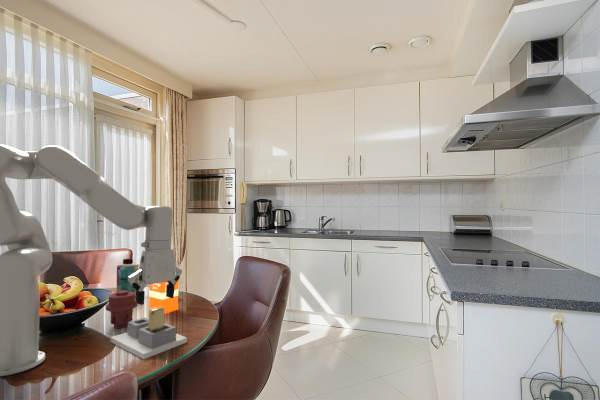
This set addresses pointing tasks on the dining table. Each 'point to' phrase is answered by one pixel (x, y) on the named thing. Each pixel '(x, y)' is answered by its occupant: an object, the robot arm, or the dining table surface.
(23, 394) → the dining table surface
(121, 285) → the beverage bottle
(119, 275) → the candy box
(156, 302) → the orange juice
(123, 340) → the plate
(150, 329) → the brass pipe fitting
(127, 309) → the mechanical component
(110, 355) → the dining table surface
